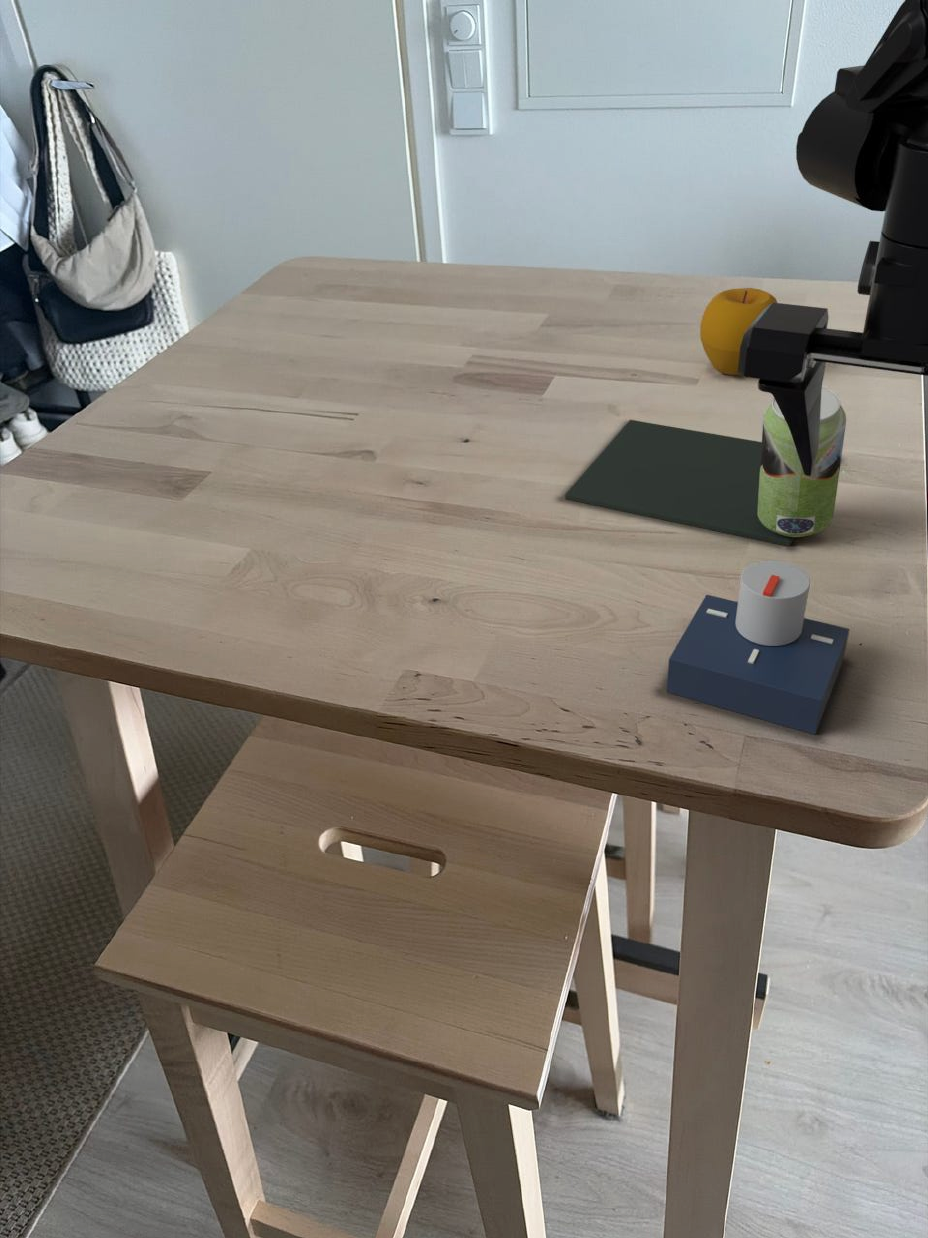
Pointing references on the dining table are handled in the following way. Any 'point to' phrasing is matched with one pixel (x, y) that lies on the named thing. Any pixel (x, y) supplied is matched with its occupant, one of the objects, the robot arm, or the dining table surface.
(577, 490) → the drip mat
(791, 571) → the grey rotary knob
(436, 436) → the dining table surface
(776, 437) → the beverage can
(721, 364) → the apple
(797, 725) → the rotary dial base
